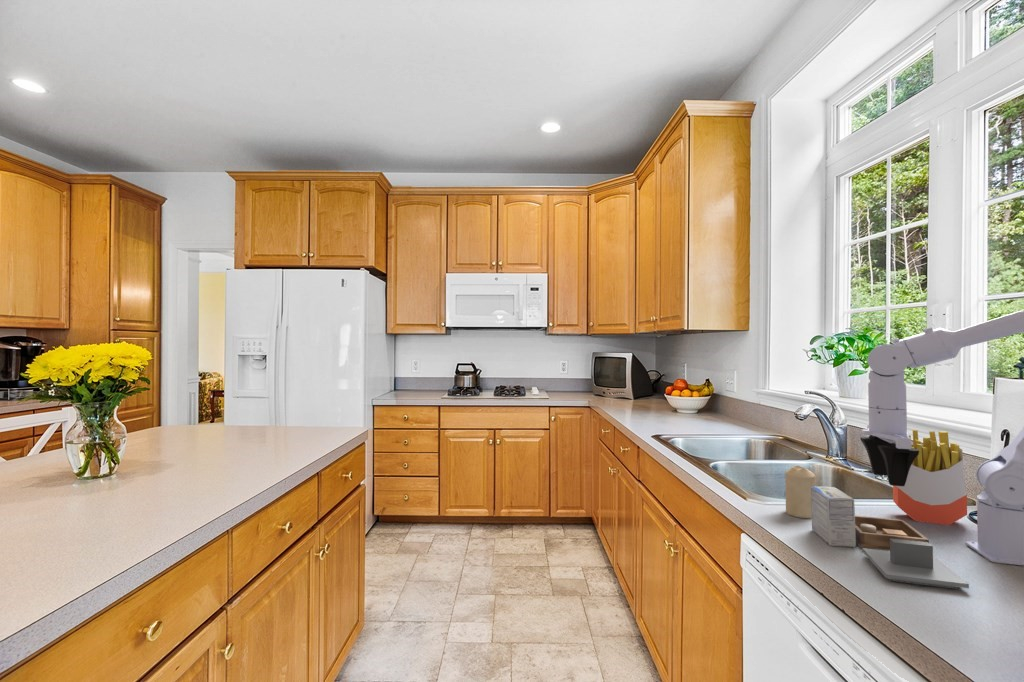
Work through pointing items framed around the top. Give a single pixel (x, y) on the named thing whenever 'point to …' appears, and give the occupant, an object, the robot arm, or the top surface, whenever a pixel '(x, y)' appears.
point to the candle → (799, 491)
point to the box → (883, 532)
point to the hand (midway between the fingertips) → (888, 479)
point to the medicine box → (833, 516)
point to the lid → (914, 564)
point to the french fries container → (934, 482)
